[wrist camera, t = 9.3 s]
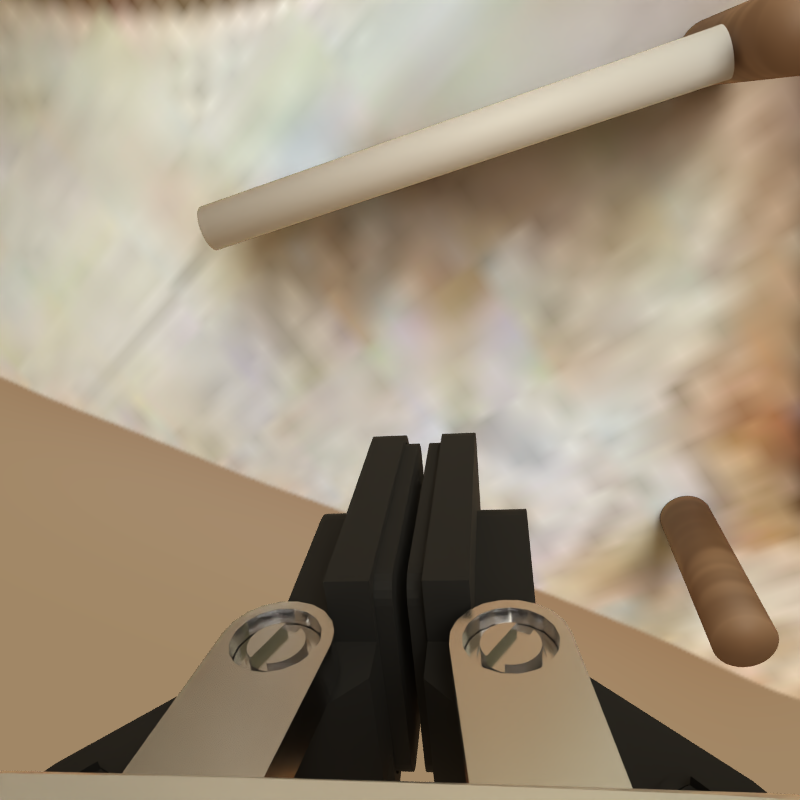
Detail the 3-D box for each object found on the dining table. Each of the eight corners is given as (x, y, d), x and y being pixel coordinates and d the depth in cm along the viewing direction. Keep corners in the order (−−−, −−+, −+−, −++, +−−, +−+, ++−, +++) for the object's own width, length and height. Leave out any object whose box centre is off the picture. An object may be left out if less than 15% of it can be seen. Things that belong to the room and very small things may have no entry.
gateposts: (679, 21, 28) (759, -17, 19) (745, 13, 27) (856, -29, 19) (659, 538, 36) (709, 666, 28) (709, 537, 36) (775, 667, 27)
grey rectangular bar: (675, 40, 27) (728, 21, 21) (683, 85, 28) (737, 78, 22) (250, 189, 31) (191, 209, 25) (264, 226, 32) (210, 253, 25)
